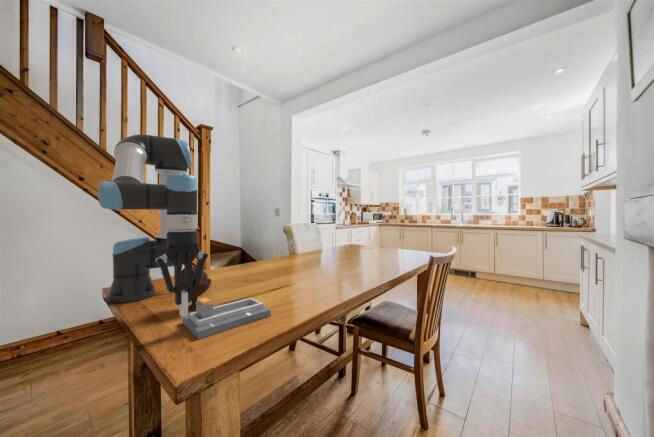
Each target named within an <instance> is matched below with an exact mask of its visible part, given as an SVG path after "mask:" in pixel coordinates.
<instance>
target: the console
mask: <svg viewBox="0 0 654 437" xmlns="http://www.w3.org/2000/svg"><path fill="white" fill-rule="evenodd" d="M271 316H272V312H271V309H270V308H268V307H266V306H264V303H263V302H260V301H259V300H257V299H255V298H253V297H248V298H245V299H240V300H237V301H233V302H230V303H224V304H220V305H217V306H213V316H211V317H207V318H204V319H199V318H198V317H197V316H196V311H192V312H188V316H185V317H182V324H183V325H184V326H185V327H186V328H187V330H189V331H190V332H191V334H193V336H194V337H196V338H197V339H198V340H200V339H203V338H206V337H209V336H212V335H216V334H219V333H222V332H224V331H228V330H231V329H234V328H237V327H240V326H243V325H247V324H250V323H253V322H255V321H258V320H262V319H265V318H267V317H271Z"/></svg>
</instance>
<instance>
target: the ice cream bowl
mask: <svg viewBox="0 0 654 437" xmlns="http://www.w3.org/2000/svg"><path fill="white" fill-rule="evenodd" d="M195 268H196V266H195V265H192V281H193V277H194V273H195ZM211 284H212V279H211V278H209V277H208V274H207V273H206V272H205V271H204V270H203V271H202V275H201V279H200V283H199V287H198V288H194V289H193V291H192V301H191V303H190V305H189V304H188V312H189V313H193V312H196V302H197V301H198V298H199V297H201V296H202V295H203V294H204V293H206V292H207V291H208V290H209V288H211ZM184 290H185V267H184V268H182V291H184Z"/></svg>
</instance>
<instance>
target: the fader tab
mask: <svg viewBox="0 0 654 437" xmlns="http://www.w3.org/2000/svg"><path fill="white" fill-rule="evenodd" d="M213 307H214V303H213V302H212V300H211V299H209V298H208V297H202V298H199V299H198V298H197V302H196V311H195V312H196V316H197V317H198V318H199V319H204V318H207V317H211V316H213Z"/></svg>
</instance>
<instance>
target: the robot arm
mask: <svg viewBox="0 0 654 437" xmlns="http://www.w3.org/2000/svg"><path fill="white" fill-rule="evenodd" d="M113 155H114V159H115V164H114V168H113V172H112V177H111V178H112V179H111V180H110V181H101V182H100V183H98V184H99V185H98V189H97V191H98V194H97V195H98V203H99V205H100V207H101V208H102V209H105V210H118V211H121V210H151V211H152V210H159V233H157V234H156V235H155V239H154V240H151V239H150V237H148V236H146V237H145V236H143V237H136V238H130V239H124V240H119V241H116V242H115V243H114V244H113V246H112V253H111V254H112V266H113V267H112V274H113V276H112V279H113V280H112V283H111V285H110V287H109V290H108V293H107V302H109V303H115V304H117V303H118V304H119V303H127V302H128V303H129V302H136V301H140V300H144V299H148V298H150V297H152V296H154V295H155V294H156V287H155V283H154V282H153V280H152V277H151V273H150V272H151V271H150V270H152V269H160V271H161V274H162V278H163V280H164V284H165V287H166V290H167V291H168V292H169V293H170V294H171V293H172V294H173V293H174V303H175V305H176V306H178V307H179V308H178V309H179V314H178V315H179V316H180V317H181V318H183V317H185V316H188V315H189V311H188V306H189V303H192V291H193V289H194V288H198V287H199V283H200V279H201V275H202V271H204V266H205V262H206V260H207V259H208V256H209V254H208V253H206V252H203V251H201V249H200V247H199V232H198V231H197V229H198V228H199V227H198V223H199V222H198V218H199V217H198V189H199V187H198V179H197V177H196V175H195V176H194V175H192V174H187V173H188V170H190V169H192V154H191V148H190V145H189V143H188V142H187V141H186V140H183V139H178V138H174V137H165V136H159V135H158V136H157V135H151V134H140V133H139V134H133V135H130V136H127V137H125V138H123V139H120V140H119V142H117V143H116V145H115V147H114V150H113ZM145 165H149V166H154V170H155V172H157V174H158V175H159V184H157V183H155V184H154V183H144V166H145ZM196 258H197V261H196V265H195V267H196V268H195V273H194V277H193V281H192V266H193V262H194V260H196ZM183 266H184V268H185V290H184V291H182V270H183ZM169 267H173V270H174V271H173V272H174V273H173V276H174V280H172V277H171V274H170V272H169ZM173 281H174V283H173Z"/></svg>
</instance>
